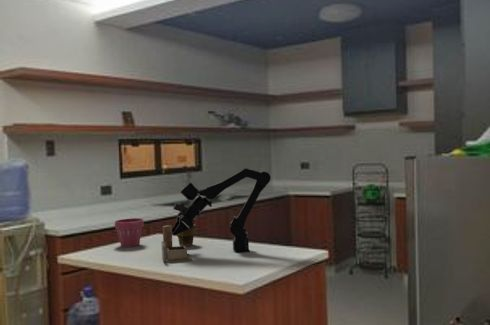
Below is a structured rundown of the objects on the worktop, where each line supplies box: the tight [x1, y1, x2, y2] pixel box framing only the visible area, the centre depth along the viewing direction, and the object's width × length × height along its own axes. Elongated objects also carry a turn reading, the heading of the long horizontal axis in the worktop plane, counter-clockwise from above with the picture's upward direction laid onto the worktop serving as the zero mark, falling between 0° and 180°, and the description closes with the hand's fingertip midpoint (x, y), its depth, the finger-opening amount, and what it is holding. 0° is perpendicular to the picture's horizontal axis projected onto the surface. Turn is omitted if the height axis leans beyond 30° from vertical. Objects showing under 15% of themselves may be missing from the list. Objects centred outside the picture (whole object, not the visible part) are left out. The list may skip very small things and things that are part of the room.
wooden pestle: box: [162, 225, 173, 255], centre depth 217 cm, size 4×4×13 cm
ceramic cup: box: [176, 223, 196, 247], centre depth 238 cm, size 13×10×10 cm
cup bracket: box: [161, 240, 193, 264], centre depth 208 cm, size 12×12×7 cm
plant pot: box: [114, 217, 145, 248], centre depth 243 cm, size 14×14×13 cm
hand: (172, 233), depth 218 cm, fingers open, 9 cm apart
